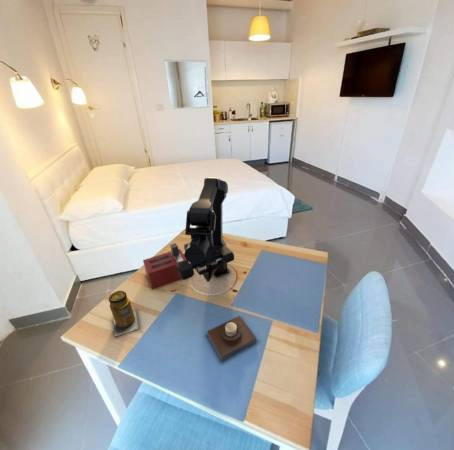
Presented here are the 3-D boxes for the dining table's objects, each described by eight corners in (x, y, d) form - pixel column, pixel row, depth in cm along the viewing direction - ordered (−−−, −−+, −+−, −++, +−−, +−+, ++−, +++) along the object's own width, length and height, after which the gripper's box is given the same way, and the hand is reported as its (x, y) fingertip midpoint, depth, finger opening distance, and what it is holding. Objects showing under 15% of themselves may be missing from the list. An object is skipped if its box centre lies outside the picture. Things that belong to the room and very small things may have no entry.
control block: (239, 320, 85) (239, 311, 83) (256, 342, 78) (256, 333, 76) (207, 335, 80) (206, 327, 78) (221, 361, 73) (221, 353, 71)
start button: (233, 324, 79) (233, 320, 78) (239, 333, 77) (238, 328, 76) (223, 329, 78) (222, 325, 77) (228, 338, 75) (228, 334, 74)
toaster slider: (176, 250, 108) (175, 243, 106) (179, 254, 106) (177, 246, 104) (171, 252, 107) (170, 244, 105) (173, 255, 105) (172, 248, 103)
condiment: (135, 310, 90) (127, 285, 84) (138, 328, 83) (130, 302, 77) (113, 318, 87) (103, 293, 81) (114, 337, 80) (104, 311, 75)
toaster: (182, 262, 114) (179, 248, 110) (190, 275, 106) (188, 259, 102) (146, 275, 107) (142, 259, 103) (152, 289, 99) (148, 273, 96)
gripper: (218, 224, 88) (220, 259, 96) (166, 240, 80) (174, 277, 88) (234, 239, 80) (235, 276, 87) (178, 258, 71) (185, 297, 79)
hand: (207, 281), depth 86 cm, fingers closed
